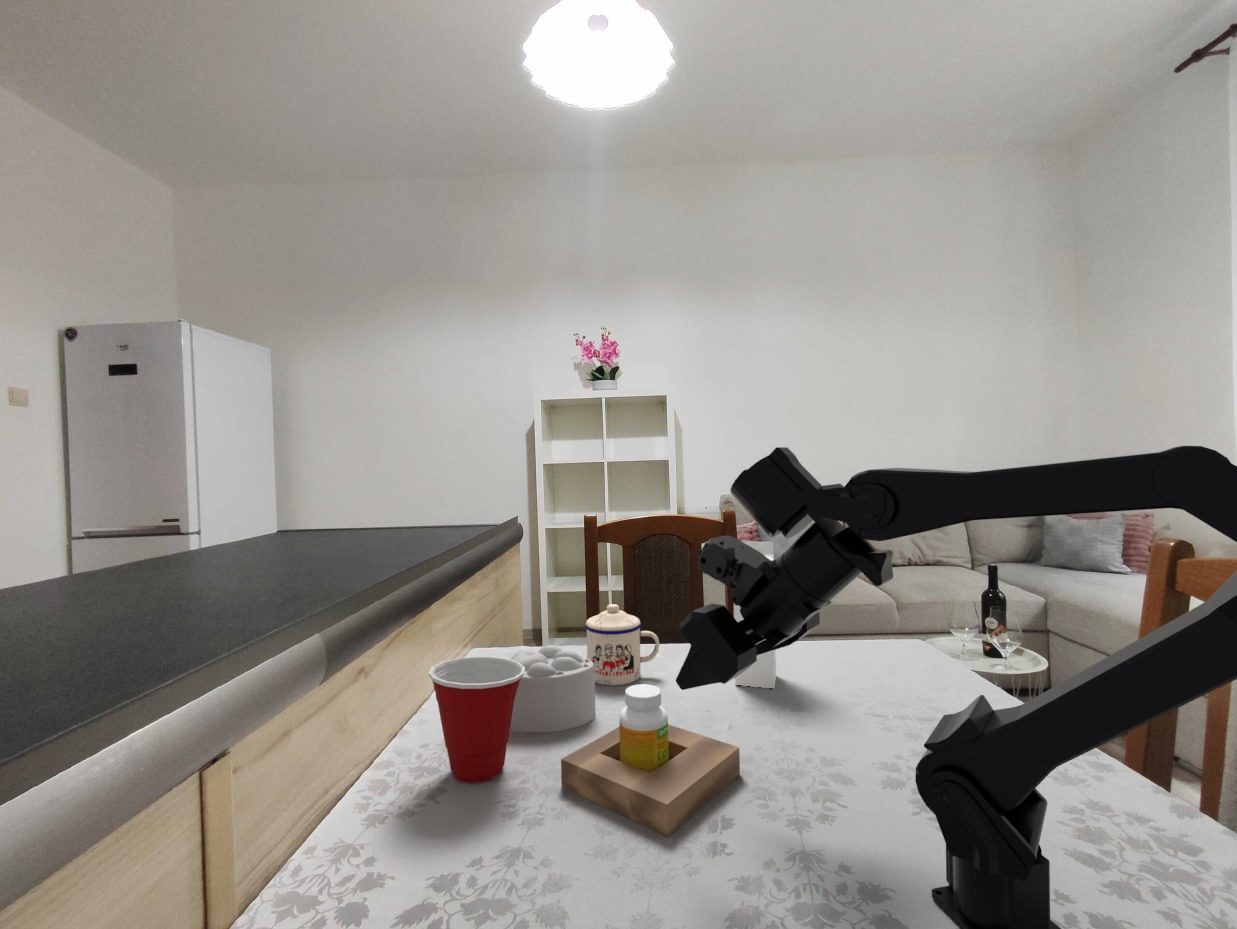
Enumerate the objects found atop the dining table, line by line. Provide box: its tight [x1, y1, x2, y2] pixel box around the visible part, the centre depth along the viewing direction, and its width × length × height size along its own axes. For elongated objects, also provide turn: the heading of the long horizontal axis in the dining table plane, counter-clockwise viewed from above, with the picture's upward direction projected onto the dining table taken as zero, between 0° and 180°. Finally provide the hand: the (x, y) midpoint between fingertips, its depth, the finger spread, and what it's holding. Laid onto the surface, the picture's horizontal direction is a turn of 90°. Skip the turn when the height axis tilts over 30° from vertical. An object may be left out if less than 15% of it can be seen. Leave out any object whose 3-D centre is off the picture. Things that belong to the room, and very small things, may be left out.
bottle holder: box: [560, 723, 741, 837], centre depth 66 cm, size 14×14×3 cm
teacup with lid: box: [584, 603, 660, 687], centre depth 98 cm, size 12×9×12 cm
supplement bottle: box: [619, 683, 669, 774], centre depth 67 cm, size 5×5×10 cm
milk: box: [733, 540, 777, 690], centre depth 95 cm, size 6×6×22 cm
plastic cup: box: [428, 656, 525, 784], centre depth 69 cm, size 11×11×12 cm
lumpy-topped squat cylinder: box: [506, 644, 596, 733], centre depth 84 cm, size 10×13×9 cm
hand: (704, 671), depth 62 cm, fingers open, 9 cm apart
